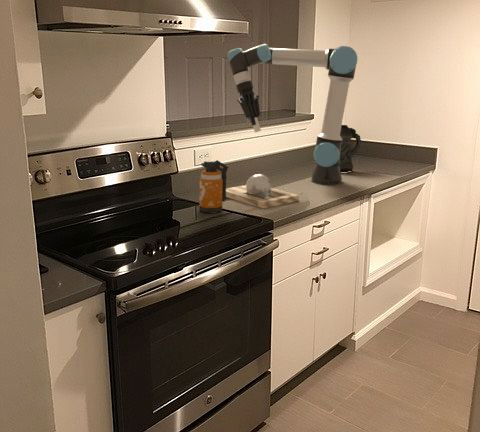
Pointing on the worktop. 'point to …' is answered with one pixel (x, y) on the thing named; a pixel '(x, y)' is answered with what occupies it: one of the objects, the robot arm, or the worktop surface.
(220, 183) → the canister
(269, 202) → the light wooden flat tray
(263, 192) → the ball
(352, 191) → the worktop surface
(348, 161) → the beer stein
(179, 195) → the worktop surface
